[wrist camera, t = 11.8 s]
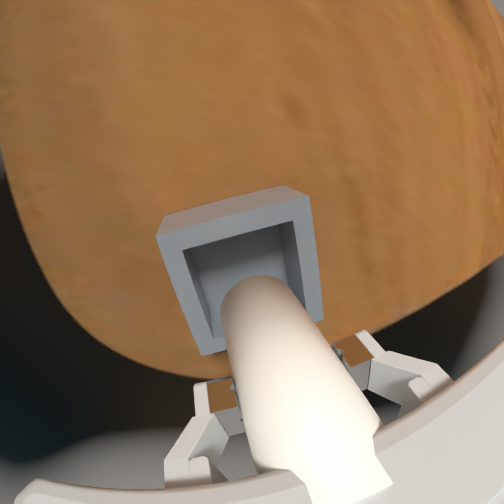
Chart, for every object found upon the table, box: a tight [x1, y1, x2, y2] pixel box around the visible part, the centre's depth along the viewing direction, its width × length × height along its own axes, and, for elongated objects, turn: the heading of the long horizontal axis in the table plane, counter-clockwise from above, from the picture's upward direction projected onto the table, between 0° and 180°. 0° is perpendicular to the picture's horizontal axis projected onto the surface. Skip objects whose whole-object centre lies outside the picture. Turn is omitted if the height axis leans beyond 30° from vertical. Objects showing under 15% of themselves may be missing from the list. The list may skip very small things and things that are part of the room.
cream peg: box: [220, 275, 393, 504], centre depth 9 cm, size 4×4×11 cm
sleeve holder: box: [155, 185, 324, 356], centre depth 19 cm, size 9×9×5 cm
